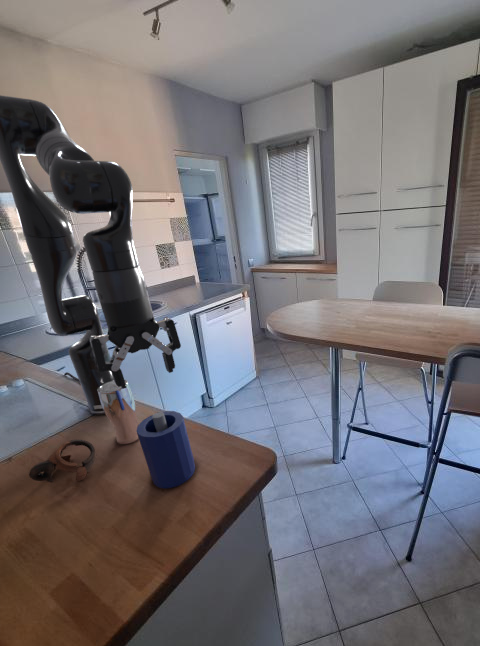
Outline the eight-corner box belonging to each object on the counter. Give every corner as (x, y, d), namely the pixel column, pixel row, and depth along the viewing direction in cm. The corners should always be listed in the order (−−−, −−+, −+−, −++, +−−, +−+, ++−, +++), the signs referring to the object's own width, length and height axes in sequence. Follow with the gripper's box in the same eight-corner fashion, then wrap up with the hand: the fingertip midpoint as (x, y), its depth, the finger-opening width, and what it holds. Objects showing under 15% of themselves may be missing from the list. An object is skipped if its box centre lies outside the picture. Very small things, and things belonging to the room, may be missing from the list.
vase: (147, 472, 73) (131, 423, 68) (186, 453, 78) (174, 406, 73) (160, 495, 67) (144, 443, 61) (201, 473, 72) (189, 423, 66)
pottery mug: (80, 454, 81) (87, 430, 78) (100, 482, 78) (107, 458, 74) (19, 476, 71) (24, 449, 68) (39, 509, 67) (44, 483, 64)
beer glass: (123, 449, 81) (104, 396, 75) (109, 439, 85) (91, 388, 79) (149, 434, 86) (134, 383, 80) (135, 425, 90) (120, 376, 84)
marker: (166, 469, 72) (150, 414, 67) (176, 464, 73) (161, 410, 68) (170, 474, 71) (154, 419, 65) (180, 469, 72) (165, 414, 66)
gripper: (159, 284, 63) (177, 361, 70) (72, 300, 55) (102, 385, 62) (172, 289, 58) (191, 372, 64) (79, 308, 50) (110, 400, 56)
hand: (147, 378), depth 63 cm, fingers open, 8 cm apart
